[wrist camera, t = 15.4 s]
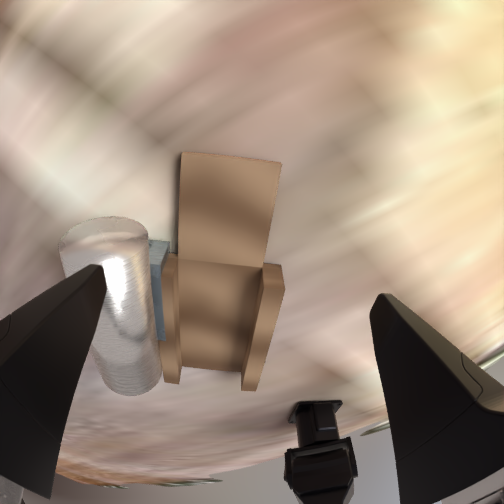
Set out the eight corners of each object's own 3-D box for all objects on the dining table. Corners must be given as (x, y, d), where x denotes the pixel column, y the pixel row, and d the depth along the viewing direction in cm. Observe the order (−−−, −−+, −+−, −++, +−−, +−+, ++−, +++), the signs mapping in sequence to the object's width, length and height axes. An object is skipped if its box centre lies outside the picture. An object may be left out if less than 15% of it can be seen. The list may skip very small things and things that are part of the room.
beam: (255, 368, 30) (255, 391, 28) (169, 359, 30) (164, 382, 27) (302, 166, 19) (312, 180, 16) (161, 150, 18) (147, 162, 15)
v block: (172, 316, 26) (166, 341, 23) (112, 307, 25) (102, 330, 23) (169, 242, 22) (160, 264, 19) (99, 234, 21) (83, 255, 19)
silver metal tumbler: (167, 349, 25) (155, 401, 20) (111, 339, 25) (92, 387, 20) (158, 220, 18) (130, 273, 13) (84, 213, 18) (41, 259, 13)
